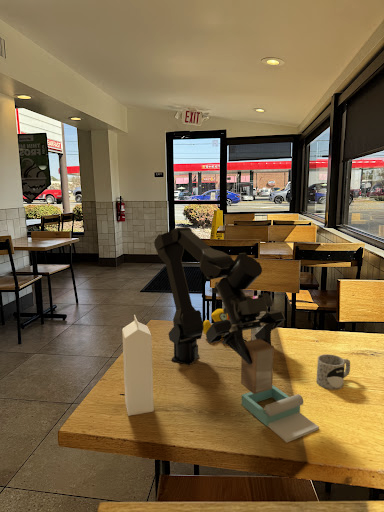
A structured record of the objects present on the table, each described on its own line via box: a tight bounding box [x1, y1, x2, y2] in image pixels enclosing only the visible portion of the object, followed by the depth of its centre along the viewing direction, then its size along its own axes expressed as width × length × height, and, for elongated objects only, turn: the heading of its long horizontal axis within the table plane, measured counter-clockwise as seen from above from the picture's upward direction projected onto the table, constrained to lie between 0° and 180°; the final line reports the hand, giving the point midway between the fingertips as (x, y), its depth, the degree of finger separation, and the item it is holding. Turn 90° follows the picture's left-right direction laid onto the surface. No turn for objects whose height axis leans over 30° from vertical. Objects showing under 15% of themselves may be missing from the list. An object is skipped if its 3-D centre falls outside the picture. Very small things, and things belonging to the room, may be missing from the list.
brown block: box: [240, 339, 275, 394], centre depth 82 cm, size 5×5×10 cm
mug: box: [316, 353, 351, 391], centre depth 98 cm, size 10×7×7 cm, turn 114°
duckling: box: [202, 308, 230, 338], centre depth 128 cm, size 11×5×10 cm, turn 107°
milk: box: [121, 314, 155, 417], centre depth 86 cm, size 6×6×22 cm
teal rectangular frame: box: [240, 384, 320, 443], centre depth 83 cm, size 16×10×5 cm, turn 28°
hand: (260, 361), depth 81 cm, fingers closed on brown block, 5 cm apart
